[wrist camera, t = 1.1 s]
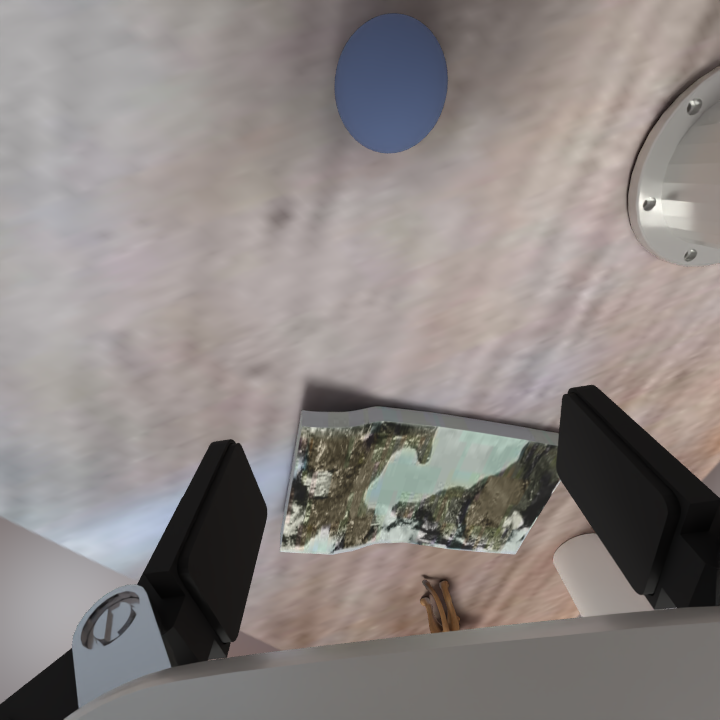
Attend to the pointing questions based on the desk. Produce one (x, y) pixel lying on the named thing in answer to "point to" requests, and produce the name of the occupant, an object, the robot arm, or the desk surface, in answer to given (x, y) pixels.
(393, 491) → the topographical model
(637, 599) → the cylindrical container
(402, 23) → the ball
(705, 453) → the desk surface
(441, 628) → the lion figurine
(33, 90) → the desk surface
